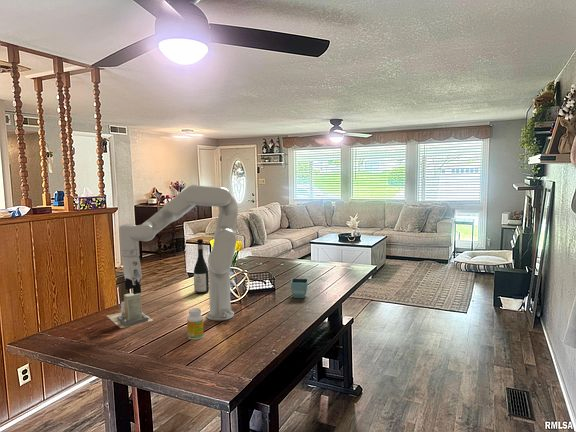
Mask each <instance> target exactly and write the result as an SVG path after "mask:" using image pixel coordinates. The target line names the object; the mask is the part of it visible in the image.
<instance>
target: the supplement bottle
mask: <svg viewBox="0 0 576 432" xmlns="http://www.w3.org/2000/svg"><path fill="white" fill-rule="evenodd" d="M186 321H187V322H186V323H187V324H186V325H187V338H188V339H189V340H195V341H196V340H200V339H203V338H204V334H205V333H204V316H203V315H202V310H201V308H199V307H196V308H195V307H193V308H190V309H188V316H187V318H186Z"/></svg>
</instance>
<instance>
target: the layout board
mask: <svg viewBox="0 0 576 432" xmlns="http://www.w3.org/2000/svg"><path fill="white" fill-rule="evenodd" d="M106 317H107V318H108V319H109V320H110V321H112V322H113V324H115V325H116V326H118V327H119V328H120V329H123V328H127V327H132V326H136V325H140V324H144V323H148V322H152V321H153V319H152V318H151V317H149V316H148V315H146V314H145V313H144V312H142V318H141V319H137V320H133V321H129V322H126V318H125V315H124V316H122V311H121V312H118V313H117V312H115V313H112V314H109V315H108V314H107V315H106Z"/></svg>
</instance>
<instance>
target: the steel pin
mask: <svg viewBox="0 0 576 432" xmlns="http://www.w3.org/2000/svg"><path fill="white" fill-rule="evenodd" d="M120 306H121V307H120V308H121V309H120V311H121V312H122V316H124V315H125V304H124V300H123V301H121V302H120Z"/></svg>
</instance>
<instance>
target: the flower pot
mask: <svg viewBox="0 0 576 432" xmlns="http://www.w3.org/2000/svg"><path fill="white" fill-rule="evenodd" d="M308 282H309V279H308V278H292V279H291V281H290V289H291V294H292V296H293V298H295V299H305V297H306V295H307V291H308Z"/></svg>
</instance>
